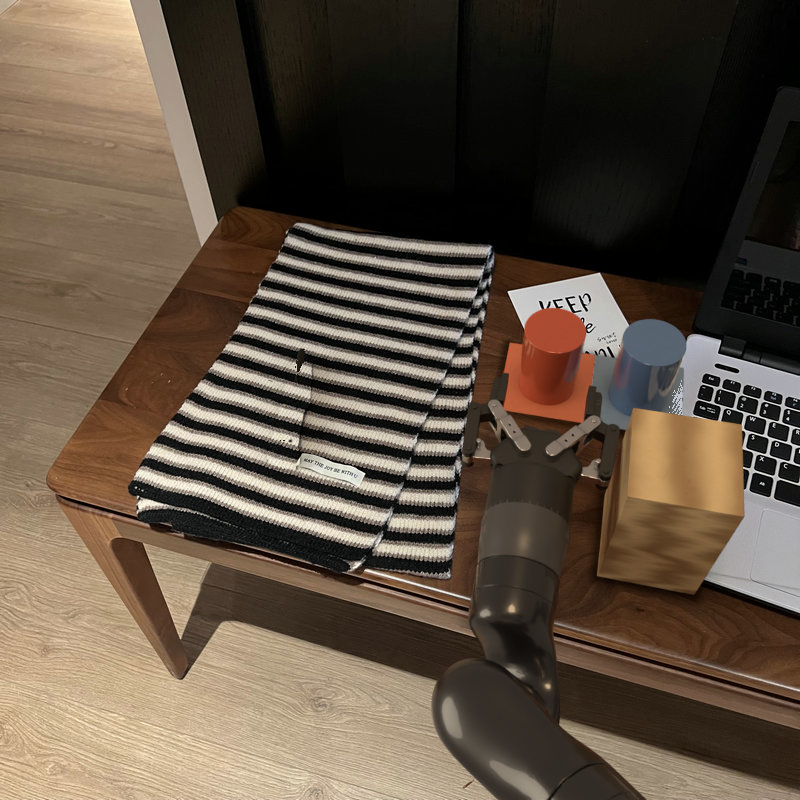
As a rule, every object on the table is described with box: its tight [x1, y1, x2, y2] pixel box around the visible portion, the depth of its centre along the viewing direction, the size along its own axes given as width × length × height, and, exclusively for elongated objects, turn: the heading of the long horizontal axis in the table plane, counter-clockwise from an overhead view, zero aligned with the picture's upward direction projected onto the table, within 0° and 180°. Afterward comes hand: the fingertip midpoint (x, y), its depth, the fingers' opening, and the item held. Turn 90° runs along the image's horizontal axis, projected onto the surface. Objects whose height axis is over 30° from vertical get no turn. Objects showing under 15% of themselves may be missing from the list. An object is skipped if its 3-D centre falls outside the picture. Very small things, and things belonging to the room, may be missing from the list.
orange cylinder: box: [518, 307, 587, 405], centre depth 85 cm, size 6×6×9 cm
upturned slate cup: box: [608, 318, 688, 416], centre depth 83 cm, size 6×6×9 cm
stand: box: [596, 408, 746, 596], centre depth 70 cm, size 9×9×16 cm
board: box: [503, 342, 685, 431], centre depth 88 cm, size 20×10×1 cm, turn 77°
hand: (548, 384), depth 77 cm, fingers open, 8 cm apart
